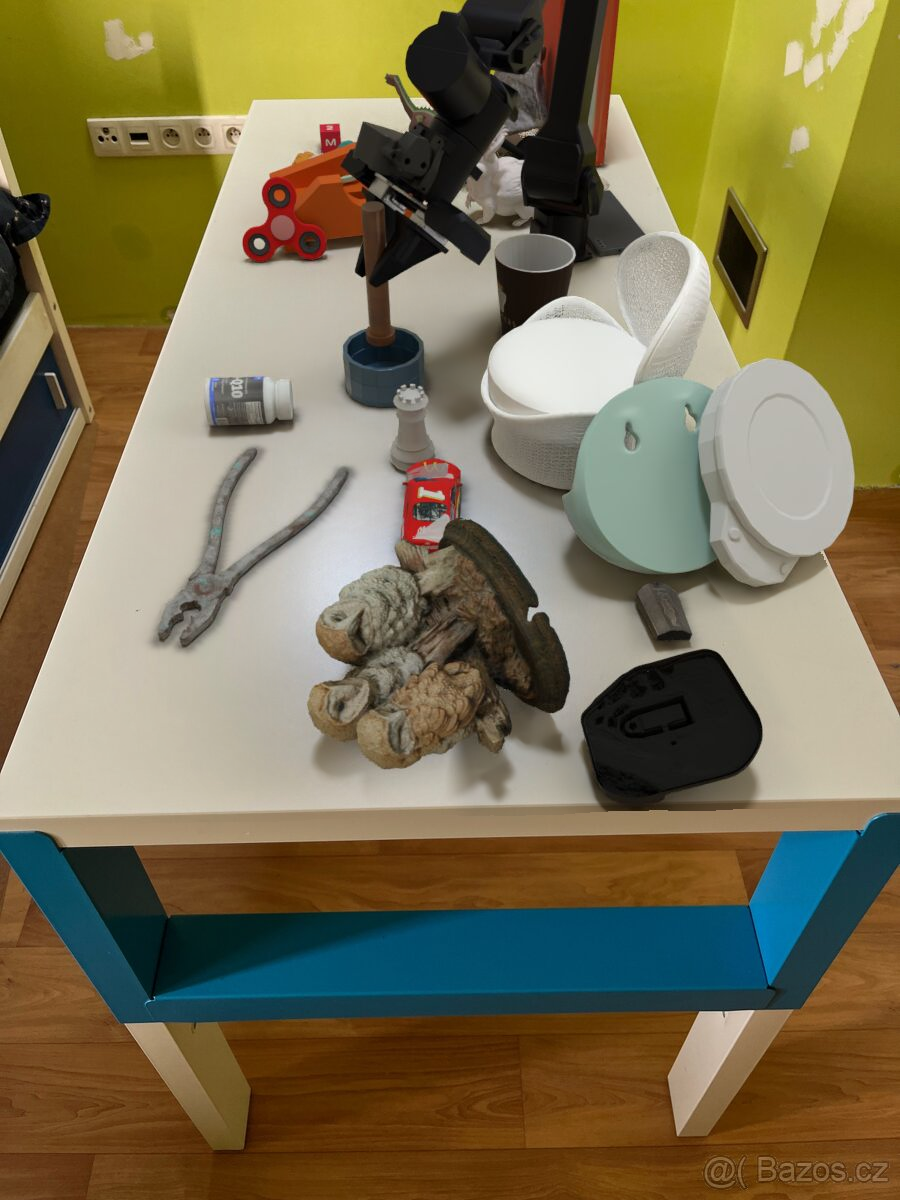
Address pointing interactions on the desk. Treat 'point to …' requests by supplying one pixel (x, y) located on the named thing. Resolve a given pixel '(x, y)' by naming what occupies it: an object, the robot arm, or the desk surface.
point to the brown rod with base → (378, 297)
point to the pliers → (213, 588)
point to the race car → (430, 502)
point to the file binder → (603, 74)
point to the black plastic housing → (670, 728)
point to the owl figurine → (436, 651)
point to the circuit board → (513, 139)
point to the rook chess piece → (411, 429)
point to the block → (663, 612)
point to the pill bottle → (247, 400)
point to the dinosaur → (410, 104)
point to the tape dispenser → (326, 195)
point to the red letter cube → (329, 137)
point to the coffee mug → (531, 275)
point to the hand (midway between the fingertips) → (365, 280)
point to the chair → (593, 356)
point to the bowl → (383, 367)
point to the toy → (282, 226)
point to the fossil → (528, 97)
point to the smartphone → (612, 227)
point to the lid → (773, 470)
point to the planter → (644, 481)
